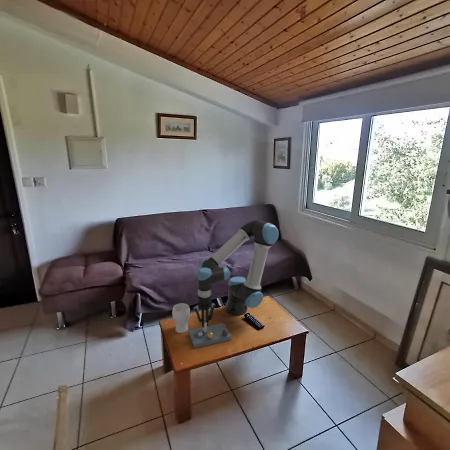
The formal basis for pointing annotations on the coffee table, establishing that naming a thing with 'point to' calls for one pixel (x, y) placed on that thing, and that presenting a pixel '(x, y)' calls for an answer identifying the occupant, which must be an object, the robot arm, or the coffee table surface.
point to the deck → (203, 340)
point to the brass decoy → (210, 335)
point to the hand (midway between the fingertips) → (205, 331)
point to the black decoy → (224, 332)
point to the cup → (181, 317)
